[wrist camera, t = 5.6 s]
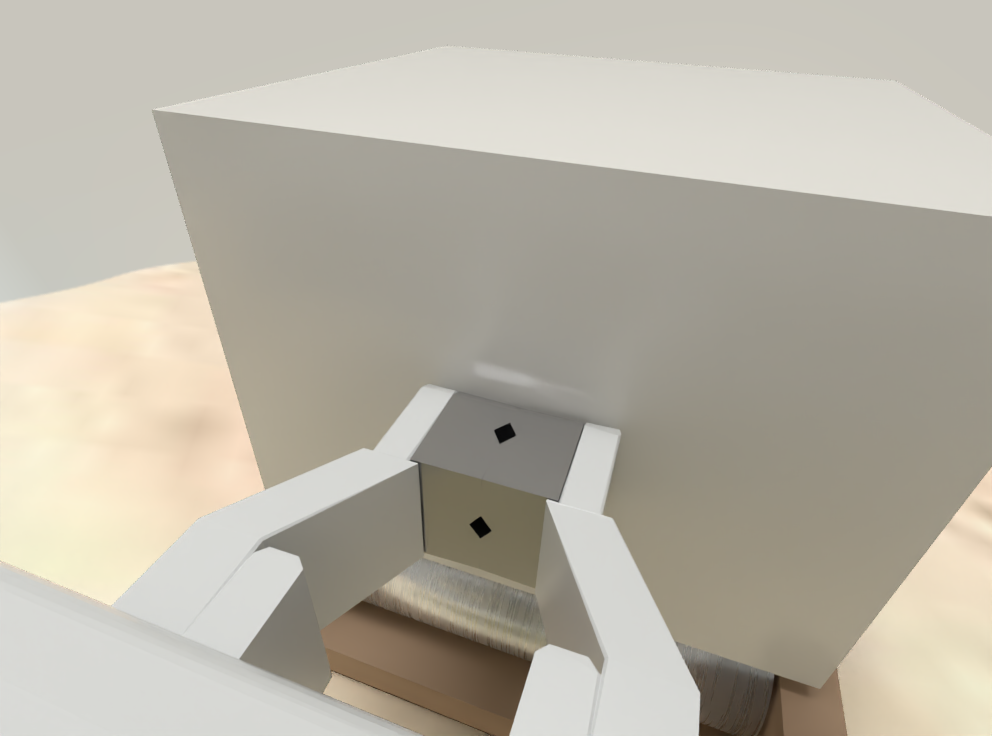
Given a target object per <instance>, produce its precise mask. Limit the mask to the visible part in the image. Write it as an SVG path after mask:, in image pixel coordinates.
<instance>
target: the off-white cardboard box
mask: <svg viewBox="0 0 992 736" xmlns="http://www.w3.org/2000/svg"><path fill="white" fill-rule="evenodd" d="M152 113H153V116H154V119H155V123H156V126H157V129H158V133H159V136H160V139H161V143H162V146H163V149H164V153H165V156H166V159H167V163H168V166H169V169H170V173H171V176H172V179H173V183H174V186H175V190H176V192H177V196H178V200H179V203H180V206H181V209H182V213H183V216H184V219H185V223H186V226H187V230H188V233H189V236H190V240H191V243H192V246H193V249H194V253H195V257H196V260H197V263H198V267H199V270H200V273H201V277H202V280H203V283H204V287H205V290H206V294H207V297H208V300H209V304H210V307H211V310H212V314H213V317H214V320H215V324H216V327H217V330H218V334H219V337H220V340H221V344H222V347H223V351H224V354H225V357H226V361H227V364H228V367H229V371H230V374H231V377H232V381H233V384H234V387H235V391H236V394H237V397H238V401H239V404H240V408H241V411H242V414H243V418H244V421H245V424H246V428H247V431H248V434H249V438H250V441H251V444H252V448H253V451H254V454H255V458H256V461H257V464H258V468H259V471H260V475H261V478H262V481H263V485H264V488H265V490H266V489H269V488H271V487H273V486H276V485H278V484H280V483H283V482H285V481H287V480H290V479H292V478H294V477H297V476H299V475H302V474H304V473H306V472H309V471H311V470H313V469H316V468H318V467H320V466H323V465H325V464H327V463H330V462H332V461H334V460H337V459H339V458H341V457H344V456H346V455H348V454H351V453H353V452H355V451H358V450H360V449H363V448H365V449H369V450H373V449H374V448H375V447H376V446H377V444H378V443H379V442H380V440H381V439H382V438H383V436H384V435H385V434H386V432H387V431H388V430H389V429H390V427H391V426H392V425H393V423H394V422H395V421H396V419H397V418H398V417H399V416H400V414H401V413H402V412H403V410H404V409H405V408H406V406H407V405H408V404H409V403H410V401H411V400H412V399H413V397H414V396H415V395H416V393H417V392H418V391H419V390H420V388H421V387H423V386H425V385H427V384H432V385H436V386H440V387H443V388H447V389H451V390H455V391H457V392H459V391H460V392H464V393H468V394H472V395H476V396H479V397H483V398H487V399H491V400H494V401H498V402H502V403H506V404H509V405H513V406H517V407H520V408H524V409H528V410H533V411H537V412H541V413H545V414H550V415H554V416H558V417H562V418H567V419H571V420H575V421H579V422H584V423H592V424H596V425H601V426H605V427H610V428H615V429H619V430H620V431H621V438H620V442H619V447H618V451H617V456H616V461H615V465H614V470H613V474H612V479H611V483H610V488H609V492H608V497H607V501H606V506H605V510H604V516H607V517H610V518H613V519H614V521H615V523H616V525H617V527H618V529H619V531H620V533H621V535H622V537H623V539H624V541H625V543H626V545H627V547H628V549H629V551H630V553H631V555H632V557H633V559H634V561H635V563H636V565H637V567H638V569H639V571H640V573H641V575H642V577H643V579H644V581H645V583H646V585H647V587H648V589H649V591H650V593H651V595H652V597H653V599H654V601H655V603H656V605H657V607H658V609H659V611H660V613H661V615H662V617H663V619H664V621H665V623H666V625H667V627H668V629H669V631H670V634H671V636H672V638H673V640H674V641H676V642H679V643H682V644H685V645H688V646H691V647H694V648H697V649H700V650H703V651H706V652H709V653H712V654H715V655H718V656H721V657H724V658H727V659H730V660H733V661H736V662H739V663H743V664H746V665H749V666H752V667H755V668H758V669H761V670H764V671H767V672H770V673H773V674H776V675H779V676H782V677H785V678H788V679H791V680H794V681H797V682H800V683H803V684H806V685H809V686H812V687H815V688H818V689H821V687H822V686H823V685H824V684H825V682H826V681H827V680H828V678H829V677H830V676H831V674H832V673H833V672H834V671H835V669H836V668H837V667H838V665H839V664H840V663H841V661H842V660H843V659H844V658H845V656H846V655H847V654H848V652H849V651H850V650H851V649H852V647H853V646H854V645H855V643H856V642H857V641H858V639H859V638H860V637H861V636H862V634H863V633H864V632H865V630H866V629H867V628H868V626H869V625H870V624H871V623H872V621H873V620H874V619H875V617H876V616H877V615H878V614H879V612H880V611H881V610H882V608H883V607H884V606H885V604H886V603H887V602H888V601H889V599H890V598H891V597H892V595H893V594H894V593H895V591H896V590H897V589H898V588H899V586H900V585H901V584H902V582H903V581H904V580H905V579H906V577H907V576H908V575H909V573H910V572H911V571H912V569H913V568H914V567H915V566H916V564H917V563H918V562H919V560H920V559H921V558H922V556H923V555H924V554H925V553H926V551H927V550H928V549H929V547H930V546H931V545H932V544H933V542H934V541H935V540H936V538H937V537H938V536H939V534H940V533H941V532H942V531H943V529H944V528H945V527H946V525H947V524H948V523H949V521H950V520H951V519H952V518H953V516H954V515H955V514H956V512H957V511H958V510H959V509H960V507H961V506H962V505H963V503H964V502H965V501H966V499H967V498H968V497H969V496H970V494H971V493H972V492H973V490H974V489H975V488H976V486H977V485H978V484H979V483H980V481H981V480H982V479H983V477H984V476H985V475H986V474H987V472H988V471H989V470H990V468H991V467H992V136H990V135H988V134H987V133H985V132H983V131H981V130H980V129H978V128H976V127H975V126H973V125H971V124H969V123H968V122H966V121H964V120H962V119H961V118H959V117H957V116H955V115H954V114H952V113H951V112H949V111H947V110H945V109H944V108H942V107H940V106H939V105H937V104H935V103H933V102H932V101H930V100H928V99H926V98H925V97H923V96H921V95H919V94H918V93H916V92H914V91H913V90H911V89H909V88H908V87H906V86H904V85H902V84H901V83H899V82H897V81H891V80H879V79H866V78H854V77H840V76H827V75H814V74H801V73H790V72H776V71H763V70H751V69H738V68H725V67H713V66H700V65H699V66H698V65H687V64H673V63H662V62H661V63H660V62H649V61H636V60H622V59H609V58H598V57H585V56H572V55H559V54H546V53H534V52H533V53H532V52H520V51H508V50H494V49H482V48H470V47H457V46H443V47H438V48H434V49H429V50H424V51H419V52H415V53H411V54H406V55H401V56H396V57H392V58H387V59H383V60H378V61H373V62H369V63H364V64H360V65H355V66H351V67H346V68H341V69H337V70H332V71H327V72H323V73H319V74H314V75H309V76H305V77H300V78H295V79H291V80H286V81H281V82H277V83H272V84H268V85H263V86H258V87H254V88H249V89H245V90H240V91H235V92H230V93H226V94H221V95H217V96H212V97H208V98H203V99H199V100H194V101H189V102H185V103H180V104H175V105H171V106H166V107H161V108H157V109H152ZM422 558H425V559H428V560H431V561H434V562H437V563H440V564H443V565H446V566H449V567H452V568H455V569H458V570H461V571H464V572H467V573H470V574H473V575H476V576H479V577H482V578H485V579H488V580H491V581H494V582H497V583H500V584H503V585H506V586H509V587H512V588H515V589H518V590H521V591H524V592H527V593H531V594H534V595H536V594H535V588H532V587H529V586H526V585H523V584H520V583H518V582H515V581H512V580H509V579H506V578H503V577H501V576H498V575H495V574H492V573H489V572H486V571H484V570H481V569H478V568H474V567H471V566H468V565H464V564H461V563H457V562H454V561H451V560H447V559H444V558H440V557H437V556H433V555H430V554H427V553H424V557H422Z"/></svg>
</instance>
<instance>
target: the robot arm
mask: <svg viewBox="0 0 992 736" xmlns="http://www.w3.org/2000/svg"><path fill="white" fill-rule="evenodd" d="M620 438H621V431H620V430H619V429H615V428H610V427H605V426H601V425H596V424H592V423H584V422H579V421H575V420H571V419H567V418H562V417H558V416H554V415H550V414H545V413H541V412H537V411H533V410H528V409H524V408H520V407H517V406H513V405H509V404H506V403H502V402H498V401H494V400H491V399H487V398H483V397H479V396H476V395H472V394H468V393H464V392H460V391H459V392H457V391H455V390H451V389H447V388H443V387H440V386H436V385H432V384H427V385H425V386H423V387H421V388H420V390H419V391H418V392H417V393H416V395H415V396H414V397H413V399H412V400H411V401H410V403H409V404H408V405H407V406H406V408H405V409H404V410H403V412H402V413H401V414H400V416H399V417H398V418H397V419H396V421H395V422H394V423H393V425H392V426H391V427H390V429H389V430H388V431H387V432H386V434H385V435H384V436H383V438H382V439H381V440H380V442H379V443H378V444H377V446H376V447H375V448H374V449H373V450H369V449H365V448H363V449H360V450H358V451H355V452H353V453H351V454H348V455H346V456H344V457H341V458H339V459H337V460H334V461H332V462H330V463H327V464H325V465H323V466H320V467H318V468H316V469H313V470H311V471H309V472H306V473H304V474H302V475H299V476H297V477H294V478H292V479H290V480H287V481H285V482H283V483H280V484H278V485H276V486H273V487H271V488H269V489H266V490H264V491H262V492H259V493H257V494H255V495H252V496H250V497H248V498H245V499H243V500H241V501H238V502H236V503H233V504H231V505H229V506H226V507H224V508H222V509H219V510H217V511H215V512H212V513H210V514H208V515H205V516H203V517H201V518H199V519H198V520H197V521H196V522H195V523H194V524H193V525H192V526H191V527H190V528H189V529H188V530H187V531H186V532H185V533H184V534H183V535H182V536H181V537H180V538H179V539H178V540H177V541H176V542H175V543H174V544H173V545H172V546H171V547H170V548H169V549H168V550H167V551H166V552H165V553H164V554H163V555H162V556H161V557H160V558H159V559H158V560H157V561H156V562H155V563H154V564H153V565H152V566H151V567H150V568H149V569H148V570H147V571H146V572H145V573H144V574H143V575H142V576H141V577H140V578H139V579H138V580H137V581H136V582H135V583H134V584H133V585H132V586H131V587H130V588H129V589H128V590H127V591H126V592H125V593H124V594H123V595H122V596H121V597H120V598H119V599H118V600H117V601H116V602H115V603H114V604H113V605H112V606H109V605H107V604H104V603H102V602H99V601H97V600H95V599H92V598H90V597H87V596H85V595H82V594H80V593H78V592H75V591H73V590H70V589H68V588H65V587H63V586H61V585H58V584H56V583H53V582H51V581H49V580H46V579H44V578H41V577H39V576H36V575H34V574H32V573H29V572H27V571H24V570H22V569H19V568H17V567H15V566H12V565H10V564H7V563H5V562H2V561H0V736H424V735H421V734H419V733H416V732H414V731H412V730H409V729H407V728H404V727H402V726H400V725H397V724H395V723H392V722H390V721H387V720H385V719H383V718H380V717H378V716H375V715H373V714H371V713H368V712H366V711H363V710H361V709H358V708H356V707H354V706H351V705H349V704H346V703H344V702H342V701H339V700H337V699H334V698H332V697H329V696H327V695H325V694H323V692H324V690H325V688H326V686H327V685H328V683H329V681H330V679H331V677H332V674H331V669H330V664H329V661H328V657H327V653H326V650H325V646H324V643H323V639H322V635H321V632H320V630H322V629H323V628H325V627H326V626H327V625H329V624H330V623H332V622H333V621H334V620H336V619H337V618H339V617H340V616H341V615H343V614H344V613H346V612H347V611H348V610H350V609H351V608H352V607H354V606H355V605H357V604H358V603H359V602H361V601H362V600H364V599H365V598H366V597H368V596H369V595H371V594H372V593H373V592H375V591H376V590H378V589H379V588H380V587H382V586H383V585H385V584H386V583H387V582H389V581H390V580H392V579H393V578H394V577H396V576H397V575H399V574H400V573H401V572H403V571H404V570H406V569H407V568H408V567H410V566H411V565H413V564H414V563H415V562H417V561H418V560H420V559H421V558H422V557H424V553H427V554H430V555H433V556H437V557H440V558H444V559H447V560H451V561H454V562H457V563H461V564H464V565H468V566H471V567H474V568H478V569H481V570H484V571H486V572H489V573H492V574H495V575H498V576H501V577H503V578H506V579H509V580H512V581H515V582H518V583H520V584H523V585H526V586H529V587H532V588H535V594H536V598H537V602H538V606H539V610H540V614H541V618H542V622H543V626H544V630H545V634H546V638H547V642H548V645H547V646H545V647H543V648H541V649H539V650H537V651H535V654H534V657H533V660H532V663H531V667H530V670H529V673H528V676H527V680H526V683H525V686H524V689H523V693H522V696H521V699H520V702H519V706H518V709H517V712H516V715H515V719H514V722H513V725H512V728H511V732H510V735H509V736H699V713H700V692H699V690H698V688H697V686H696V684H695V682H694V680H693V678H692V676H691V674H690V672H689V670H688V668H687V666H686V664H685V662H684V660H683V658H682V656H681V654H680V652H679V650H678V648H677V646H676V644H675V642H674V640H673V638H672V636H671V634H670V631H669V629H668V627H667V625H666V623H665V621H664V619H663V617H662V615H661V613H660V611H659V609H658V607H657V605H656V603H655V601H654V599H653V597H652V595H651V593H650V591H649V589H648V587H647V585H646V583H645V581H644V579H643V577H642V575H641V573H640V571H639V569H638V567H637V565H636V563H635V561H634V559H633V557H632V555H631V553H630V551H629V549H628V547H627V545H626V543H625V541H624V539H623V537H622V535H621V533H620V531H619V529H618V527H617V525H616V523H615V521H614V519H613V518H610V517H607V516H604V510H605V506H606V501H607V497H608V492H609V488H610V483H611V479H612V474H613V470H614V465H615V461H616V456H617V451H618V447H619V442H620Z"/></svg>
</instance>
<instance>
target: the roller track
mask: <svg viewBox="0 0 992 736" xmlns="http://www.w3.org/2000/svg"><path fill="white" fill-rule="evenodd" d="M320 632H321V635H322V639H323V643H324V646H325V650H326V653H327V657H328V661H329V664H330V669H331V670H333V671H335V672H338V673H340V674H342V675H345V676H347V677H350V678H352V679H355V680H357V681H360V682H362V683H365V684H367V685H370V686H372V687H375V688H377V689H380V690H382V691H385V692H387V693H390V694H392V695H395V696H397V697H400V698H402V699H404V700H407V701H409V702H412V703H414V704H417V705H419V706H422V707H424V708H427V709H429V710H432V711H434V712H437V713H439V714H442V715H444V716H447V717H449V718H452V719H454V720H457V721H459V722H462V723H464V724H466V725H469V726H471V727H474V728H476V729H479V730H481V731H484V732H486V733H489V734H491V735H494V736H509V735H510V732H511V728H512V725H513V722H514V719H515V715H516V712H517V709H518V706H519V702H520V699H521V696H522V693H523V689H524V686H525V683H526V680H527V676H528V673H529V670H530V667H531V663H532V660H533V657H534V654H535V651H537V650H539V649H541V648H543V647H545V646H547V645H548V642H547V638H546V634H545V630H544V626H543V622H542V618H541V614H540V610H539V606H538V602H537V598H536V595H534V594H531V593H527V592H524V591H521V590H518V589H515V588H512V587H509V586H506V585H503V584H500V583H497V582H494V581H491V580H488V579H485V578H482V577H479V576H476V575H473V574H470V573H467V572H464V571H461V570H458V569H455V568H452V567H449V566H446V565H443V564H440V563H437V562H434V561H431V560H428V559H425V558H421V559H420V560H418V561H417V562H415V563H414V564H413V565H411V566H410V567H408V568H407V569H406V570H404V571H403V572H401V573H400V574H399V575H397V576H396V577H394V578H393V579H392V580H390V581H389V582H387V583H386V584H385V585H383V586H382V587H380V588H379V589H378V590H376V591H375V592H373V593H372V594H371V595H369V596H368V597H366V598H365V599H364V600H362V601H361V602H359V603H358V604H357V605H355V606H354V607H352V608H351V609H350V610H348V611H347V612H346V613H344V614H343V615H341V616H340V617H339V618H337V619H336V620H334V621H333V622H332V623H330V624H329V625H327V626H326V627H325V628H323V629H322V630H320ZM674 642H675V644H676V646H677V648H678V650H679V652H680V654H681V656H682V658H683V660H684V662H685V664H686V666H687V668H688V670H689V672H690V674H691V676H692V678H693V680H694V682H695V684H696V686H697V688H698V690H699V692H700V713H699V736H847V731H846V725H845V718H844V712H843V705H842V699H841V693H840V686H839V680H838V673H837V668H836V669H835V671H834V672H833V673H832V674H831V676H830V677H829V678H828V680H827V681H826V682H825V684H824V685H823V686H822V687H821V689H818V688H815V687H812V686H809V685H806V684H803V683H800V682H797V681H794V680H791V679H788V678H785V677H782V676H779V675H776V674H773V673H770V672H767V671H764V670H761V669H758V668H755V667H752V666H749V665H746V664H743V663H739V662H736V661H733V660H730V659H727V658H724V657H721V656H718V655H715V654H712V653H709V652H706V651H703V650H700V649H697V648H694V647H691V646H688V645H685V644H682V643H679V642H676V641H674Z"/></svg>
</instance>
